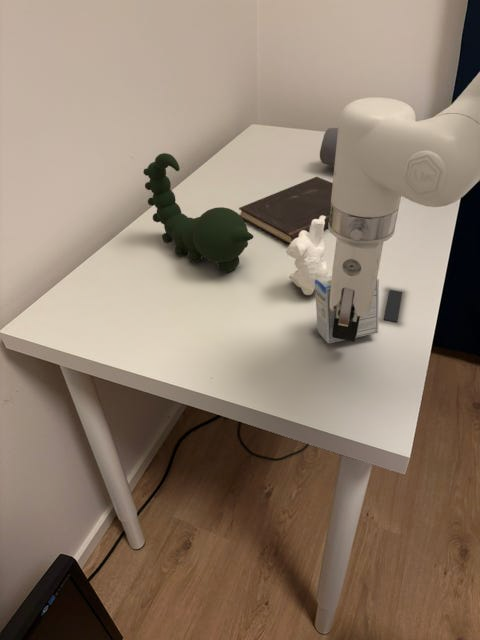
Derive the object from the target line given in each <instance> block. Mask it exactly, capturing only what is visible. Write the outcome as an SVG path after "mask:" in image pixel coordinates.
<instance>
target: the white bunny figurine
mask: <svg viewBox="0 0 480 640" xmlns="http://www.w3.org/2000/svg"><path fill="white" fill-rule="evenodd" d="M325 218H326V216H323V215H321V216H320V217H319V219H313V221H312V223H311V226H310V231H309V233H308V232H307V231H305V230H302V231H301V232H300V233H299V237H298V238H295V239H294V240H293V241H292V242H291V243H290V245H288V246H287V248H286V250H285V253H286V255H287V256H289V257H291V258H293V259H294V266H295V267H296V269H297V270H295V271H294V272H293V273H290V274H289V275H288V276H289V279H290V280H291V281H292V282H293V283H294V285H296V287H298V288H300V289H301V292H302V293H303V294H304V295H305V296H311V295H312V294H313V293H315V280H316V279H319V278H324V277H327V275H328V273H329V266H328V264H327V262H326V261H325V260H321V258H323V257H324V256H325V252H326V246H325V242H324V240H323V238H324V237H323V236H324V231H325V229H324V225H325V221H324V220H325Z"/></svg>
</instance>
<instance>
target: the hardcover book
mask: <svg viewBox="0 0 480 640" xmlns="http://www.w3.org/2000/svg"><path fill="white" fill-rule="evenodd" d="M332 186H333V182H331V181H329V180H327V179H324V178H322V177H319V176H315V177H312V178H309V179H307V180H304V181H302V182H300V183H297V184H294V185H292V186H290V187H288V188H285V189H282V190H279V191H277V192H274V193H273V194H270V195H268V196H265V197H262V198H260V199H258V200H255V201H252V202H250V203H247V204H245V205H243V206H239V207H238V210H240V216H241V217H242V219H243V220H244V222H247V223H248V224H250V225H252V226H253V227H255V228H258V229H259V230H261V231H263V232H265V233H266V234H268V235H270V236H272V237H274V238H275V239H277V240H279V241H281V242H283V243H285V244H287V245H288V246H289V245H290V243H291V242H292V241H293V240H294V239H295V238H298V237H299V233H300V232H301V231H302V230H305V231H307V232H308V233H309V231H310V226H311V223H312V221H313V219H319V217H320V216H321V215H323V216H326V218H325V220H324V221H325V225H324V230H326V229H329V228H328V223H329V215H330V205H331V196H332Z"/></svg>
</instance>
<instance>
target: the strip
mask: <svg viewBox="0 0 480 640" xmlns="http://www.w3.org/2000/svg"><path fill="white" fill-rule="evenodd" d="M402 297H403V291H400V290H393V289H389V293H388V297H387V301H386V302H387V303H386V309H385V313H384V317H383V321H388V322H392V323H398V321H399V315H400V309H401V303H402Z"/></svg>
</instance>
